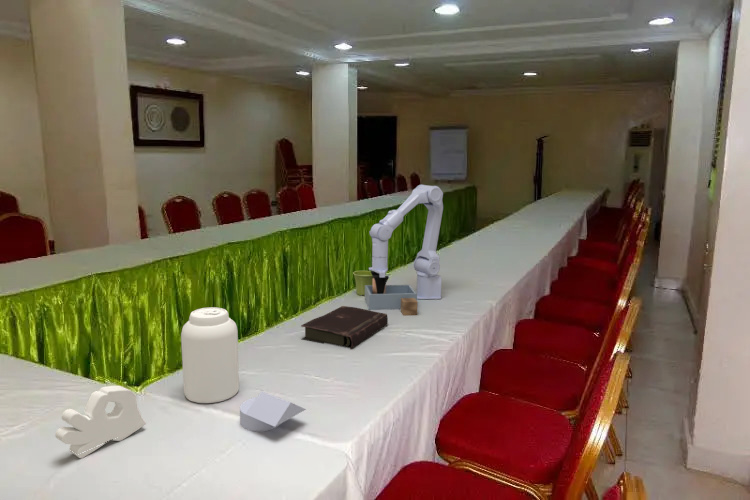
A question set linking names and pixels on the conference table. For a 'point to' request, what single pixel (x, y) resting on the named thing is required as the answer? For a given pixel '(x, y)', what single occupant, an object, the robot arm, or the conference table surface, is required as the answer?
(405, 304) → the walnut cube
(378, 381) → the conference table surface
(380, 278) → the robot arm
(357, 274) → the plant pot
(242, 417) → the wedge on round base
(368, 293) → the box
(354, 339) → the diary
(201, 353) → the can
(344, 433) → the conference table surface
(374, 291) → the terracotta cylinder
